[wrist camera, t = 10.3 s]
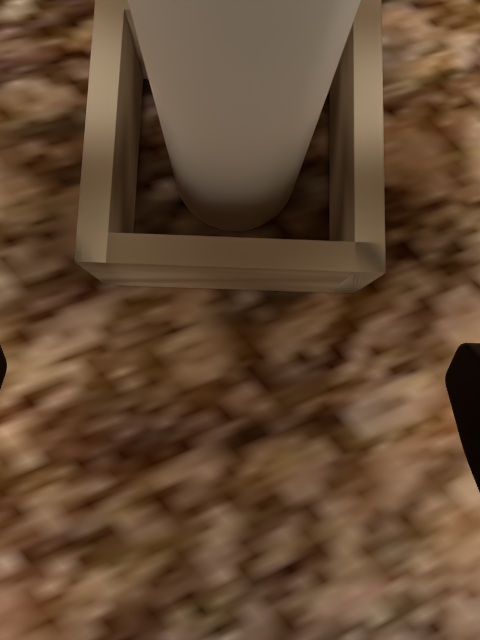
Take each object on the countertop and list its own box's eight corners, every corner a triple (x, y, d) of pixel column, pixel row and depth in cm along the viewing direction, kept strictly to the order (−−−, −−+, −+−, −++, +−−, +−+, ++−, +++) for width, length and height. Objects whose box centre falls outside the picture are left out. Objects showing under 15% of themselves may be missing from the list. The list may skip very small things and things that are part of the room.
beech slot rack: (353, 293, 17) (385, 273, 14) (104, 284, 17) (73, 261, 14) (351, -110, 20) (377, -213, 16) (134, -123, 20) (114, -231, 16)
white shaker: (310, 140, 18) (492, -366, 6) (272, 247, 17) (382, -63, 5) (200, 101, 18) (143, -481, 6) (157, 207, 18) (-9, -197, 5)
